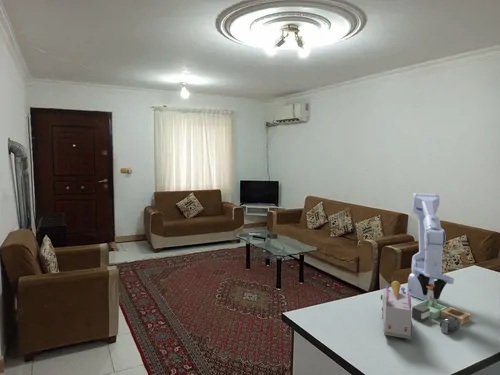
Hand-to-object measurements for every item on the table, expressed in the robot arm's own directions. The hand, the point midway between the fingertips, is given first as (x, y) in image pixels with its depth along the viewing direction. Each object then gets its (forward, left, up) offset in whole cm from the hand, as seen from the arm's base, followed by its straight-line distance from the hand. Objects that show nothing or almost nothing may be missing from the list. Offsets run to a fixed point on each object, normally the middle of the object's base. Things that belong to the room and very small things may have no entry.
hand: (431, 296), depth 128 cm
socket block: (+8, +3, -6) cm, 10 cm away
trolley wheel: (+11, -8, -6) cm, 15 cm away
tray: (0, 0, -6) cm, 6 cm away
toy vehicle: (0, -22, -6) cm, 23 cm away
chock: (+1, -8, -6) cm, 10 cm away
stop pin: (+1, 0, -3) cm, 3 cm away
